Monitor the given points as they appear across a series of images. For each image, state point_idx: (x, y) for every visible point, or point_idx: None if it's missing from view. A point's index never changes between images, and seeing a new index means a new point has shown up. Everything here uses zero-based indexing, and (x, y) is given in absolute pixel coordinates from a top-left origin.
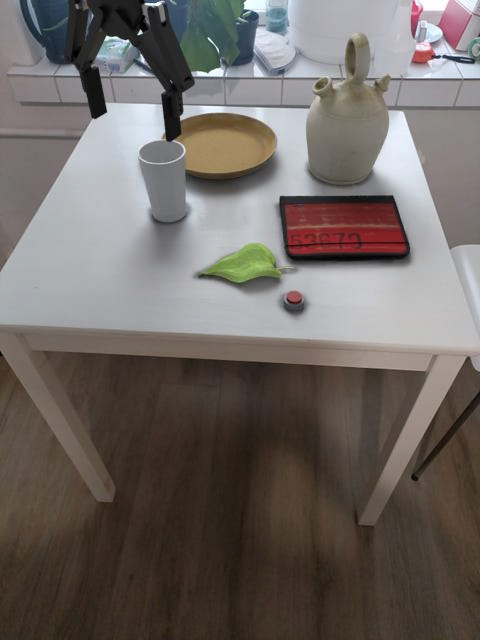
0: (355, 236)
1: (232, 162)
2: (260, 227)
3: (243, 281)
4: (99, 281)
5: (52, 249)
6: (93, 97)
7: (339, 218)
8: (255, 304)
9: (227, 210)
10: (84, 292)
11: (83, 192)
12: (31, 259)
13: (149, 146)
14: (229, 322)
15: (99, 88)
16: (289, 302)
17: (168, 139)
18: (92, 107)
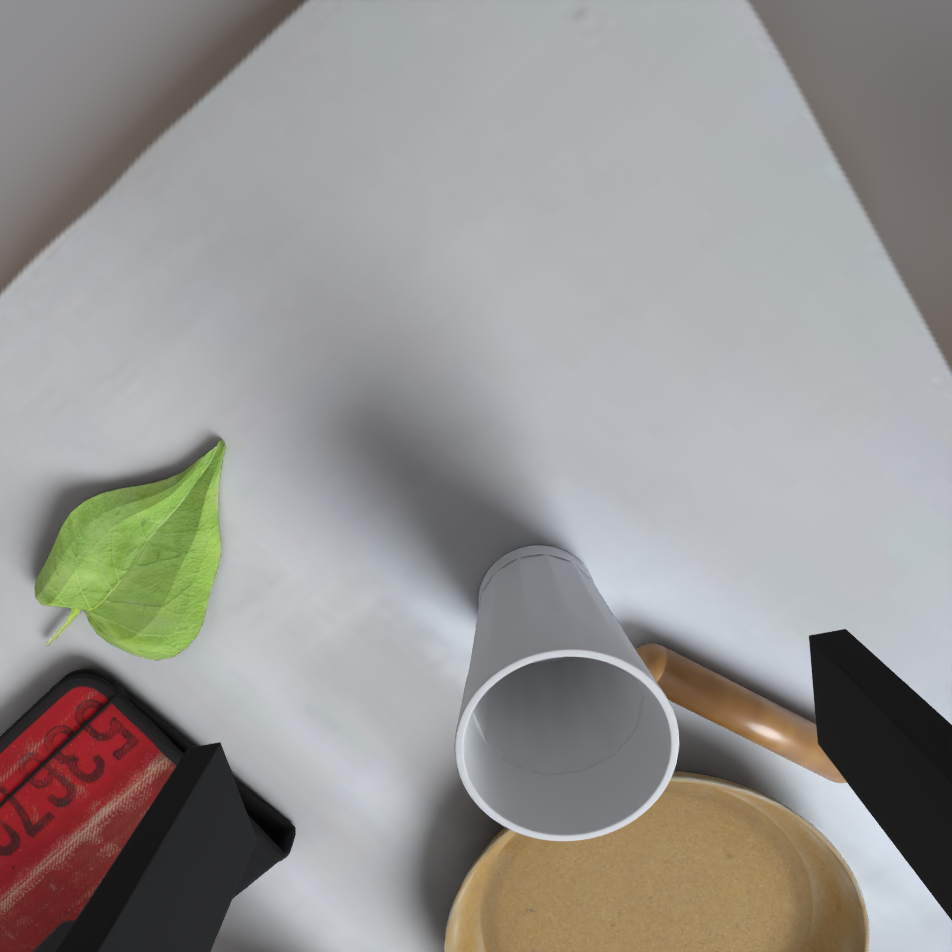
0: (1, 843)
1: (561, 898)
2: (262, 719)
3: (81, 504)
4: (434, 200)
5: (703, 189)
6: (903, 758)
7: (84, 876)
8: (12, 466)
9: (398, 717)
10: (428, 126)
11: (874, 479)
12: (721, 96)
13: (662, 748)
14: (2, 361)
15: (936, 870)
16: None
17: (197, 756)
18: (863, 684)
